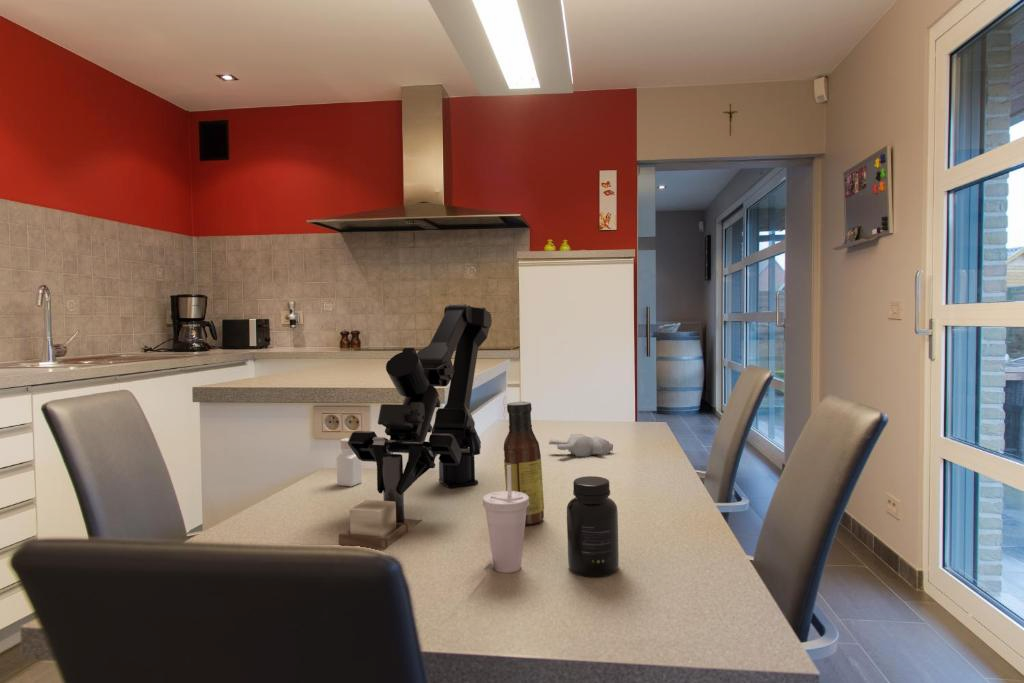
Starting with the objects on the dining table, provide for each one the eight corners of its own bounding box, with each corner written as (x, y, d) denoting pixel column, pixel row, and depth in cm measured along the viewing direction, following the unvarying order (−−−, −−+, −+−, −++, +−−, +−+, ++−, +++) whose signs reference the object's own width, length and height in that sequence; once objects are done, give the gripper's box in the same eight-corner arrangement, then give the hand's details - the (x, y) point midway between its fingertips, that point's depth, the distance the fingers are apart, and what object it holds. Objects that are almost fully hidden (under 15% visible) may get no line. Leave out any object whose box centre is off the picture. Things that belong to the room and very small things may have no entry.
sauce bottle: (548, 516, 105) (546, 400, 105) (538, 528, 100) (535, 405, 99) (512, 513, 108) (509, 399, 107) (500, 524, 102) (497, 404, 101)
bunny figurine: (619, 440, 149) (561, 437, 145) (617, 461, 149) (559, 459, 145) (602, 433, 158) (547, 430, 154) (600, 453, 158) (545, 451, 154)
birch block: (367, 531, 97) (366, 499, 96) (396, 533, 95) (395, 501, 95) (350, 542, 92) (349, 509, 92) (381, 545, 90) (380, 511, 90)
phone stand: (380, 522, 104) (378, 451, 103) (422, 525, 101) (420, 453, 101) (339, 551, 91) (336, 470, 91) (385, 555, 89) (383, 473, 89)
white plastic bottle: (336, 486, 128) (334, 440, 128) (348, 481, 132) (346, 436, 131) (352, 487, 127) (350, 441, 126) (363, 482, 130) (362, 437, 130)
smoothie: (526, 578, 81) (523, 472, 80) (478, 575, 82) (476, 470, 81) (534, 559, 87) (532, 460, 86) (490, 556, 88) (487, 459, 88)
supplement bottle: (563, 559, 86) (562, 474, 86) (611, 556, 87) (610, 472, 87) (572, 580, 80) (571, 488, 79) (624, 577, 80) (623, 485, 80)
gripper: (351, 384, 106) (316, 463, 95) (453, 385, 101) (428, 468, 90) (375, 422, 113) (345, 499, 103) (470, 424, 108) (449, 505, 98)
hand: (389, 492), depth 99 cm, fingers closed on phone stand, 3 cm apart
